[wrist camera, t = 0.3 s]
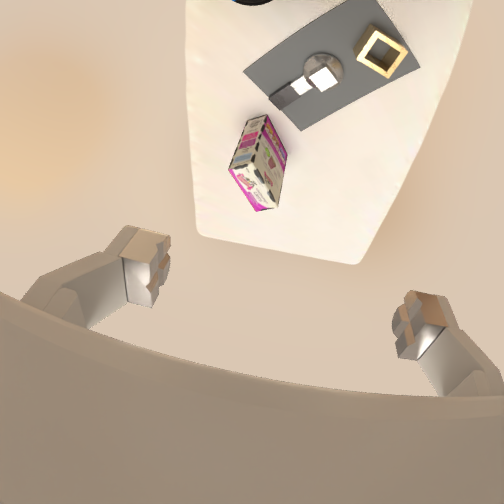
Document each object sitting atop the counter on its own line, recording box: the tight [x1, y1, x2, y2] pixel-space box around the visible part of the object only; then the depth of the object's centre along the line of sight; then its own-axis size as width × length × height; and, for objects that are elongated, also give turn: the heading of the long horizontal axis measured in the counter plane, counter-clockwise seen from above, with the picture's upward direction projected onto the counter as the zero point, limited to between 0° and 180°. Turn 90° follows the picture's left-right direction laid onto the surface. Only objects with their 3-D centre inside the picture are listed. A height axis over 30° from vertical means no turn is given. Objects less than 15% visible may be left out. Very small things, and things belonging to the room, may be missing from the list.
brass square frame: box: [353, 24, 408, 79], centre depth 40 cm, size 6×6×6 cm
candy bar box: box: [228, 115, 287, 212], centre depth 59 cm, size 11×5×16 cm, turn 26°
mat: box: [243, 0, 420, 131], centre depth 47 cm, size 28×17×1 cm, turn 134°
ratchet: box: [269, 53, 343, 110], centre depth 49 cm, size 15×7×5 cm, turn 134°
